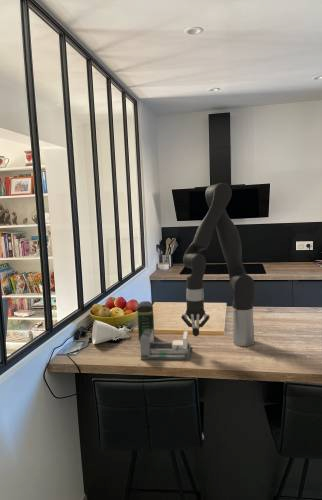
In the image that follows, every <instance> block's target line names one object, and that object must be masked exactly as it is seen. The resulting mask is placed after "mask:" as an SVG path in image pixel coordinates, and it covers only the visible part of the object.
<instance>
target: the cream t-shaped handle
mask: <svg viewBox="0 0 322 500" xmlns="http://www.w3.org/2000/svg"><path fill="white" fill-rule="evenodd" d="M182 335H183V336H182V339H181V340H180V339H178V340H177V339H176V340H175V339H173V340H172V342H171V343H172V349H176V351H178V349H187V345H188V343H189V331H188V330H184V331H183V334H182Z"/></svg>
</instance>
